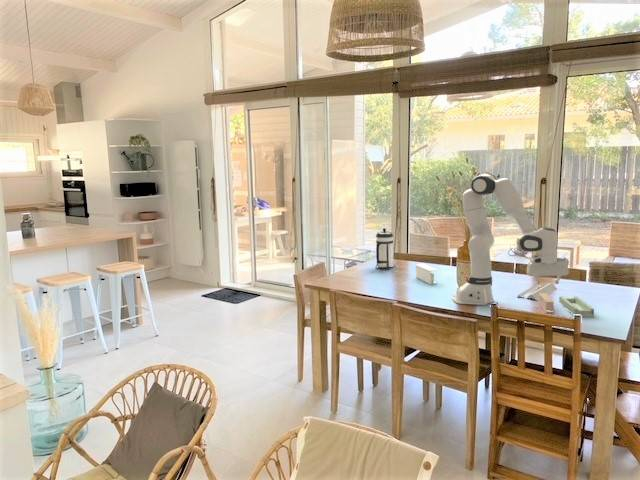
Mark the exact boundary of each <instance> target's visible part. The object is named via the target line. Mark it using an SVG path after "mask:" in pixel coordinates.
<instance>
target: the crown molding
mask: <svg viewBox="0 0 640 480" xmlns="http://www.w3.org/2000/svg"><path fill="white" fill-rule="evenodd" d="M541 286H544V287H542V288H540V289H539V290H537V291H535V292H534V293H532V294H531V295H529V296H528V297H527V298H529V299H531V298H532V300H534V299H537V298H539V293H548V292H550V291H551V290H553V289H555V288H556V289H557V287H556V286H555V285H554V284H553V283H552V282H549V283H547V284H546V285H542V284H541V283H540V284H536V283H535V285H533V286H532V287H529V288H528V289H526V290H525V291H523V292H521V293H519V294H518V295H517V296H518V297H517V298H520V297H522V296H524V295H525V294H527V293H529V292H531V291H533V290H535V289H537V288H538V287H541ZM556 289H555V290H556ZM553 291H554V290H553ZM550 293H551V292H550Z"/></svg>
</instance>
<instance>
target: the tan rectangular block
mask: <svg viewBox="0 0 640 480" xmlns="http://www.w3.org/2000/svg"><path fill="white" fill-rule="evenodd" d="M539 302H540V304H541V305H542V306H543V307H544V308H545V310H550V311H553V312H554V301H553V299H552V298H551V297H550V296H549V294H546V293H539V300H538V303H539ZM540 304H539V305H540ZM541 305H540V306H541Z"/></svg>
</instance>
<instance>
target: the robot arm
mask: <svg viewBox="0 0 640 480" xmlns="http://www.w3.org/2000/svg"><path fill="white" fill-rule="evenodd" d="M470 184H471V185H470V187H471V188H469V189H467V190H465V191H464V192H463V193H462V207H463V214H464V217H465V221H466V225H467V227H468V228H469V231H470V235H471V237H470V238H469V240H468V243H467V248H468V253H469V260H470V275H467V274H466V275H465V277H464V278H465V279H466V282H465V283H464V284H462V285H460V286H459V287H458V288H457V291H456V294H455V295H453V296H452V301H453V302H454V303H455V304H459V305H460V304H462V305H474V306H475V305H479V306H485V305H488V304H491V303H493V302H494V300H495V299H494V296H493V289H492V285H493V276H492V261H491V252H490V251H491V248H492V247H493V246H494V243H495V237H494V235H493V232H492V229H491V226H490V223H489V221H488V218H487V213H486V209H485V208H486V207H485V205H484V200H483V199H484V196H485V195H490V194H492V195H494V196H495V198H496V200H497V202H498V204H499V206H500V208H501V209H502V211H503V212H504V213H505V215H509V216H510V217H512V218H514V219H515V221H516V223H517V225H518V226H519V229H520V231H521V232H522V236H521V238H520V239H519V242H518V243H519V247H520V249H521V250H522V251H524V252H527V253H530V252H531V253H532V252H538V254H534V255H531V256H529V258H528V260H529V261H528V263H527V266H526V274H527V276H528V277H533V278H534V279H535V280H534V281H535V285H536V284H541V282H540V281H541V280H539V279H538V278H539V277H554V276H555V277H557V278H556V279H554V284H555V285H558V284H560V280H561V278H562V277H563V276H565V277H567V276H568V275H569V264H570V263H569V262H570V261H569V259H568V258H566V257H558V250H557V249H558V248H557V247H558V245H559V244H558V232H557V230H555V228H552V227H547V226H542V227H540V228H538V229H537V228H535V226H534V225H533V223H532V221H531V219H530V218H529V216H528V213H527V212H526V209H525V205H524V203H523V200H522V198H521V195H520V193H519V192H518V189H517V188H516V186H515V184H514V183H513V182H512V180H511V179H509V178H507V177H505V178H499V179H497V178H496V176H495V175H494V174H492V173H489V172H487V173H486V172H485V173H480V174H479V175H477V176H475V177H473V179H472V181H471V183H470Z"/></svg>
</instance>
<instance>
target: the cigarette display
mask: <svg viewBox="0 0 640 480" xmlns="http://www.w3.org/2000/svg"><path fill="white" fill-rule="evenodd" d="M415 266H416V267H415V268H416V269H415V271H416V272H415V273H416V274H415V277H416V278H417V279H418V280H421V281H423V282H425V283H427V284H428V285H433V284H437V282H436V281H435V274H434V273H432V271H437V270H438V269H437V268H434V267H433V266H430V265H428V264H425V263H418V264H417V263H416V264H415Z"/></svg>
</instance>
